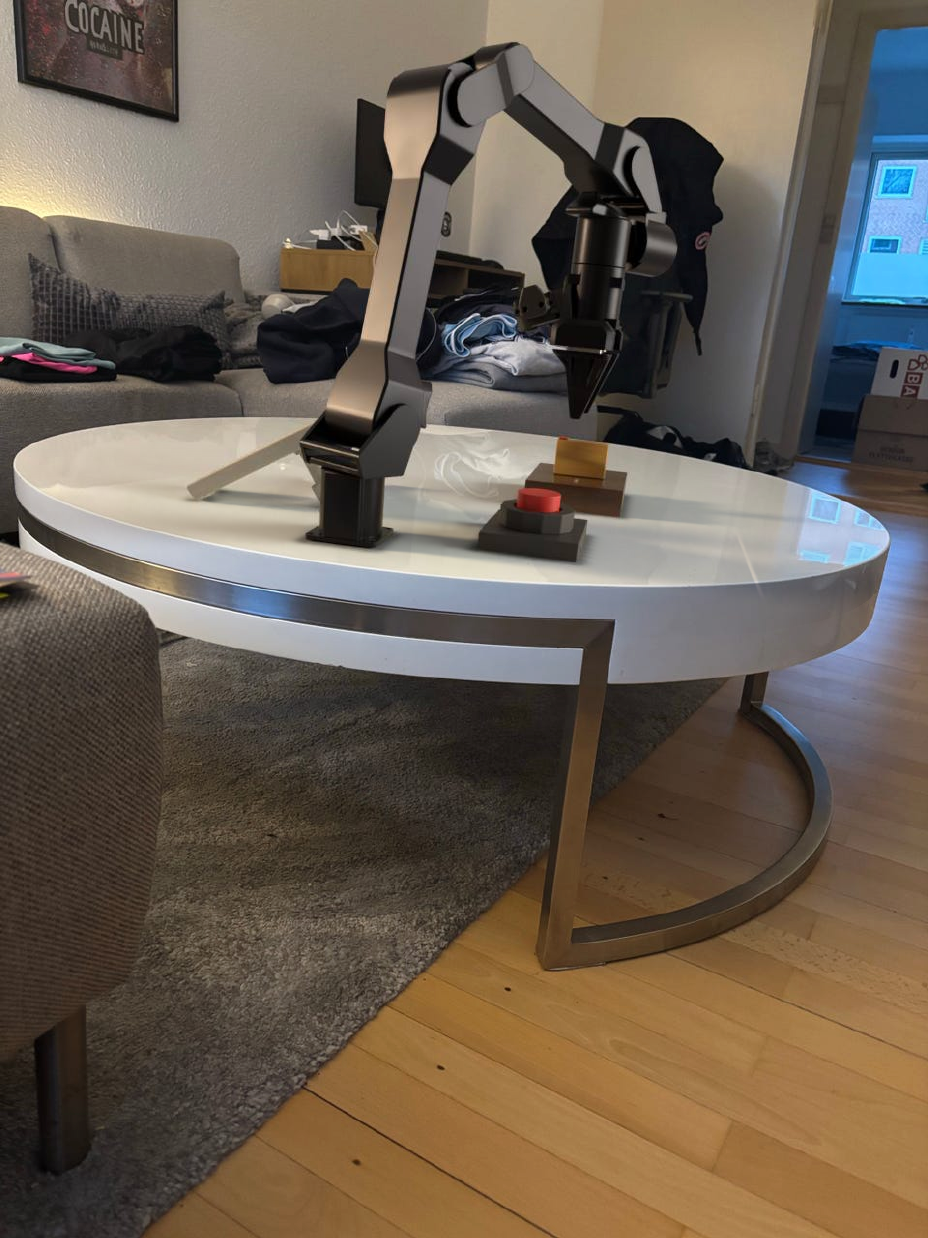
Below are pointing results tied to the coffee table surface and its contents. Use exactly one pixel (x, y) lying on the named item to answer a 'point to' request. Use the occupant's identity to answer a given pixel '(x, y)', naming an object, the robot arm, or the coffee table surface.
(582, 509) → the plate
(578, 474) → the upright gold plate
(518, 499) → the bell button
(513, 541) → the button base
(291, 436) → the door handle
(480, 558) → the coffee table surface
